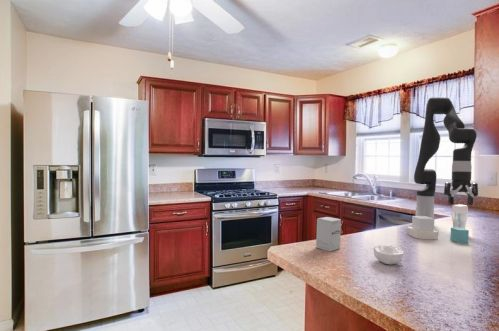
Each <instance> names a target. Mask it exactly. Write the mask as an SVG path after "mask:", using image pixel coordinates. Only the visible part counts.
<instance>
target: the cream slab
mask: <svg viewBox="0 0 499 331" xmlns="http://www.w3.org/2000/svg"><path fill="white" fill-rule="evenodd" d="M406 234H407V235H409V236H411V237H413V238H415V237H416V238H415V239H417V238H420V239H419V240H423V239H424V240H439V231H437V230H435V229H434V231H419V230H417V229H414V228H412V226H407V227H406Z"/></svg>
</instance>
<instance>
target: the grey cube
mask: <svg viewBox="0 0 499 331" xmlns="http://www.w3.org/2000/svg"><path fill="white" fill-rule="evenodd" d="M411 227H412V228H414V229H417V230H419V231H434V230H435V218H434V219H433V218H430V217H427V216H416V215H412V218H411Z"/></svg>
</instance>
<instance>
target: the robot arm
mask: <svg viewBox="0 0 499 331" xmlns="http://www.w3.org/2000/svg"><path fill="white" fill-rule="evenodd" d="M435 115H445V116H444V118H443V122H442V123H443V125H444V127H445V128H446V130H447V131H448V139H449V141H450V142H451V143H453V144H463V146H462V147H460V148H459V147H458V148H455V149H453V151H452V165H451V182H444V190H443V195H444V196H447V197H448V204H449V205H455V202H454V201H455V195H456V194H457V193H464V194H466V195H467V202H466V205H467V206H472V205H473V204H474V197H478V195H479V189H478V188H479V185H478V183H477V182H472V152H473V149H474V145H475V142H476V140H477V132H476V130H475V129H474V128H471V127H470V128H468V127H467V128H466V126H465V124H464V122H463V120H462V119H461V118H460V117H459V115H458V114H457V111H456V109H455V106H454V104H453V102H452V100H451V99H450V98H449V97H443V96H442V97H440V96H439V97H430V98H428V100H427V102H426V106H425V116H424V125H423V131H422V135H421V136H422V137H421V139H420V140H421V142H420V146H419V147H420V148H419V154H418V159H417V162H416V165H415V166H416V167H415V169H414V175H413V181H414V183H415V184H416V185H425V187H422V188H421V189H417V190H416V201H415V202H416V205H415V216H427V217H430V218H433V219H434V220H435V193H436V187H437V173H436V172H437V171H436V170H434V169H432V168H426V165H427V163H428V162H429V161H430V160H431V159H432V157H434V155H436V154H437V152H438V151H439V148H440V145H441V144H440V143H441V134H440V133H439V130H438V128H437V126H436V125H435V120H434V119H435V117H434V116H435ZM451 187H452V188H451ZM470 188H471V189H470Z"/></svg>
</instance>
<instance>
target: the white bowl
mask: <svg viewBox="0 0 499 331" xmlns="http://www.w3.org/2000/svg"><path fill="white" fill-rule="evenodd" d="M372 249H373V255H374V257H375V259H377V261H379V262H381V263H383V264H384V265H395V264H396V265H397V264H399V263H401V262H402V261H403V256H404V250H403V249H401V248H399V247H398V246H393V245H385V244H384V245H383V244H382V245H375V246H373V247H372Z"/></svg>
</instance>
